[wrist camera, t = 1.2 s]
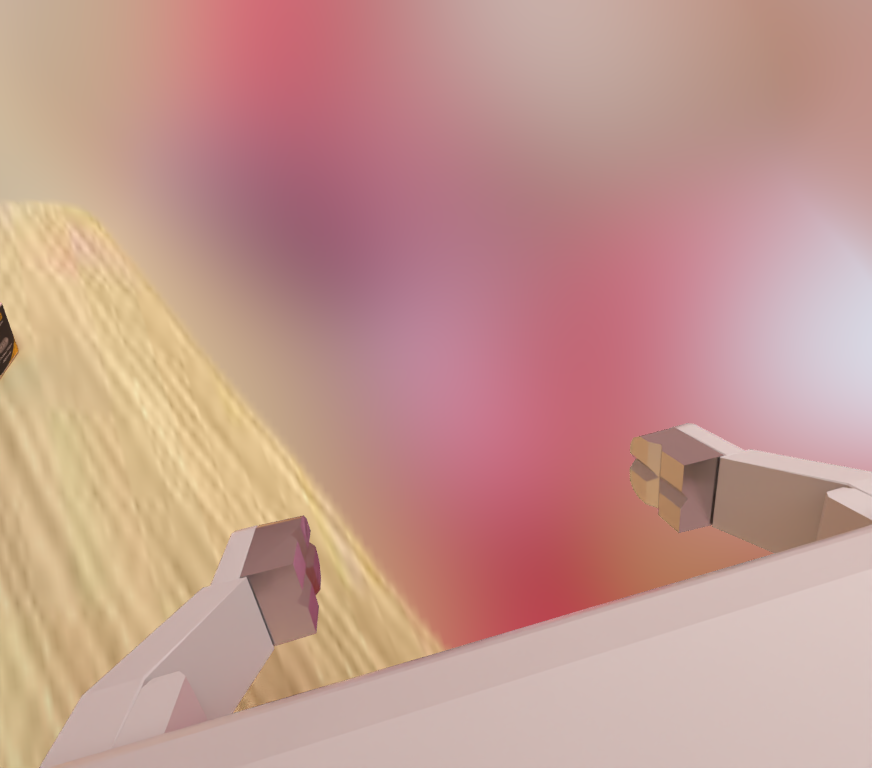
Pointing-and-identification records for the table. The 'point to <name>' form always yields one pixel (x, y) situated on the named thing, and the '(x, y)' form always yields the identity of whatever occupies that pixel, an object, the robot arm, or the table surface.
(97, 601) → the table surface
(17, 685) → the table surface
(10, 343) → the medicine bottle
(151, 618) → the table surface
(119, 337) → the table surface
